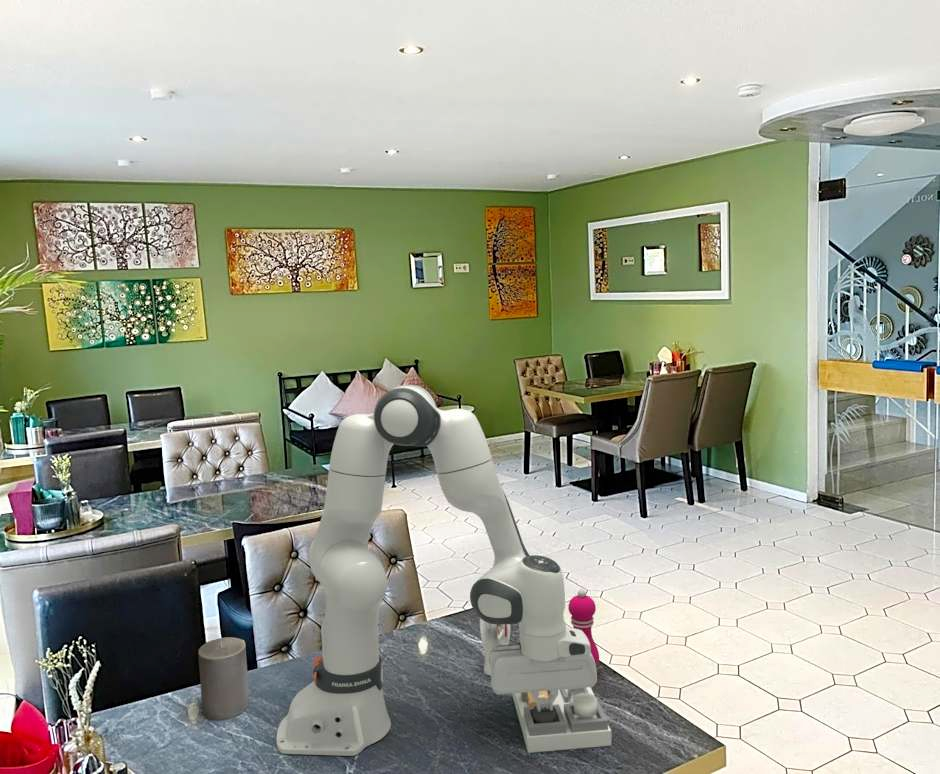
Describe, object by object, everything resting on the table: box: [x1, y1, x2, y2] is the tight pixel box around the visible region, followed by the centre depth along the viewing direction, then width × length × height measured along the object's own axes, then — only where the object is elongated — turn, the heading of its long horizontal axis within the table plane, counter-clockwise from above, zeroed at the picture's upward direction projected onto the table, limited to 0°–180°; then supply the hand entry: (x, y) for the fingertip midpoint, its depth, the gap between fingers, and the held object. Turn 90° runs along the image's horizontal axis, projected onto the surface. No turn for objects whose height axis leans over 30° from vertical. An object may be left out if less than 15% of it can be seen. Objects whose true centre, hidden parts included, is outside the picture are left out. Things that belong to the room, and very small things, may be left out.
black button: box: [533, 706, 556, 724], centre depth 147 cm, size 4×4×2 cm
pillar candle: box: [198, 636, 250, 721], centre depth 162 cm, size 10×10×15 cm
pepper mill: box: [568, 588, 600, 671], centre depth 170 cm, size 7×7×20 cm
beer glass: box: [479, 617, 511, 677], centre depth 174 cm, size 7×7×15 cm
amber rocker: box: [527, 691, 548, 707], centre depth 156 cm, size 4×8×2 cm, turn 5°
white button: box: [574, 693, 598, 717], centre depth 147 cm, size 4×4×2 cm
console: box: [512, 687, 612, 754], centre depth 153 cm, size 16×20×6 cm
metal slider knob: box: [567, 688, 585, 703], centre depth 155 cm, size 3×3×3 cm
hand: (544, 709), depth 147 cm, fingers closed, pressing on black button
